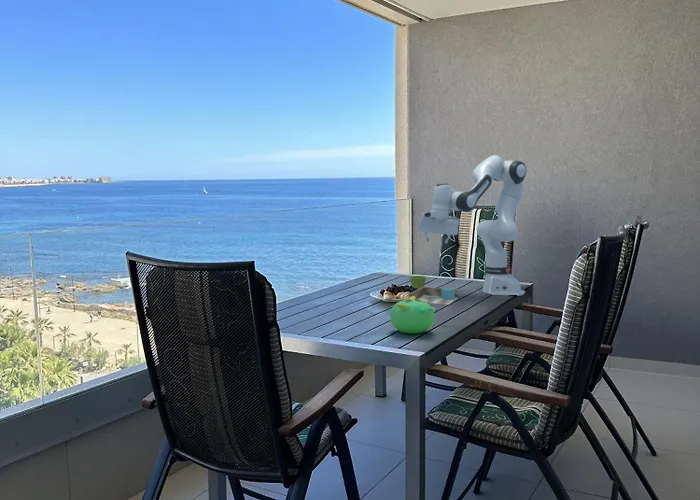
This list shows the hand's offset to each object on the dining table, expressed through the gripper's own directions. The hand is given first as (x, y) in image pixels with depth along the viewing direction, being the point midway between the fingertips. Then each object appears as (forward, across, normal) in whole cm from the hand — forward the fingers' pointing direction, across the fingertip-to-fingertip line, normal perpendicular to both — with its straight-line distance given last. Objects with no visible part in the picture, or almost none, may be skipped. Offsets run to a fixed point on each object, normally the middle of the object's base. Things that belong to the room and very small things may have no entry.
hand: (436, 242), depth 323 cm
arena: (+30, -2, +1) cm, 30 cm away
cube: (+28, -9, 0) cm, 29 cm away
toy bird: (+36, +4, +67) cm, 76 cm away
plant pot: (+29, +8, -20) cm, 36 cm away
